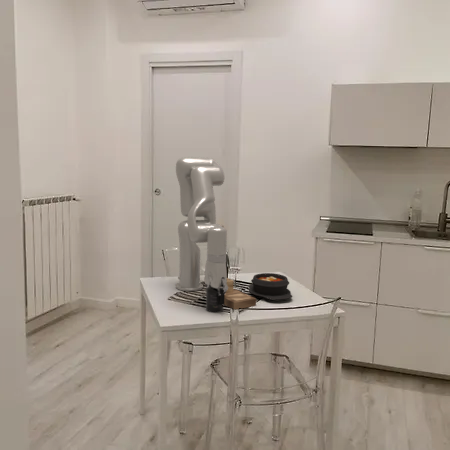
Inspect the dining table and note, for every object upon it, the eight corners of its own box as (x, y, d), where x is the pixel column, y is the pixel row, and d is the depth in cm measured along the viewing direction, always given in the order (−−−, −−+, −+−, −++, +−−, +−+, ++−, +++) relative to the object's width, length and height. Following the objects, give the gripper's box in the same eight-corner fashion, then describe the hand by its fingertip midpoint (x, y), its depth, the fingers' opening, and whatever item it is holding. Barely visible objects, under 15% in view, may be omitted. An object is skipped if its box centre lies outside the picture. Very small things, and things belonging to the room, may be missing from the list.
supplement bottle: (205, 307, 191) (206, 278, 189) (222, 306, 191) (222, 278, 189) (206, 312, 184) (206, 282, 182) (223, 312, 184) (224, 282, 183)
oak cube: (217, 290, 204) (217, 279, 203) (226, 288, 206) (227, 277, 206) (223, 293, 200) (223, 282, 199) (233, 291, 202) (233, 280, 202)
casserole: (302, 301, 202) (303, 282, 200) (263, 305, 195) (264, 286, 193) (274, 286, 224) (275, 269, 223) (239, 289, 217) (239, 271, 216)
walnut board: (210, 297, 203) (210, 290, 203) (231, 294, 209) (231, 287, 209) (234, 309, 188) (234, 302, 188) (255, 305, 194) (256, 298, 194)
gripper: (197, 254, 190) (196, 297, 192) (220, 263, 175) (219, 309, 178) (213, 253, 194) (212, 294, 196) (236, 261, 180) (235, 306, 182)
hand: (215, 301), depth 187 cm, fingers closed on supplement bottle, 6 cm apart
